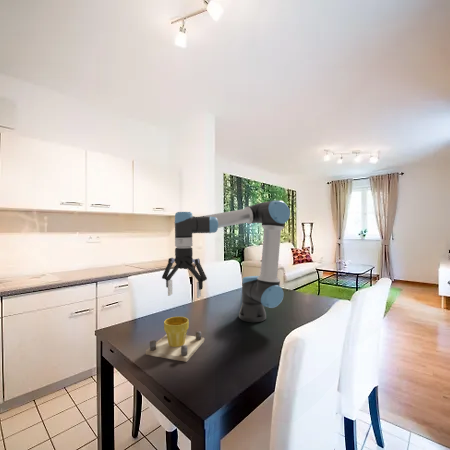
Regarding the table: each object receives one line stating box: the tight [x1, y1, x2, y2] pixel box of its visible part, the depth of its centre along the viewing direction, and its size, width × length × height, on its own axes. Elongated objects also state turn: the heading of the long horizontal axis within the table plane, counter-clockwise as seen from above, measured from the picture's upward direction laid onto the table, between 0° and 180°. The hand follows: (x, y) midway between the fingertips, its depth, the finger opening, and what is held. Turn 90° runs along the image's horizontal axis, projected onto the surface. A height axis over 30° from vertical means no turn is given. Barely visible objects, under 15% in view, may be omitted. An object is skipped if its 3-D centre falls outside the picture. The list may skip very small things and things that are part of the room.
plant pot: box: [163, 316, 190, 347], centre depth 107 cm, size 10×10×10 cm
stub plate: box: [145, 330, 205, 362], centre depth 107 cm, size 18×18×4 cm
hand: (184, 296), depth 110 cm, fingers open, 13 cm apart
